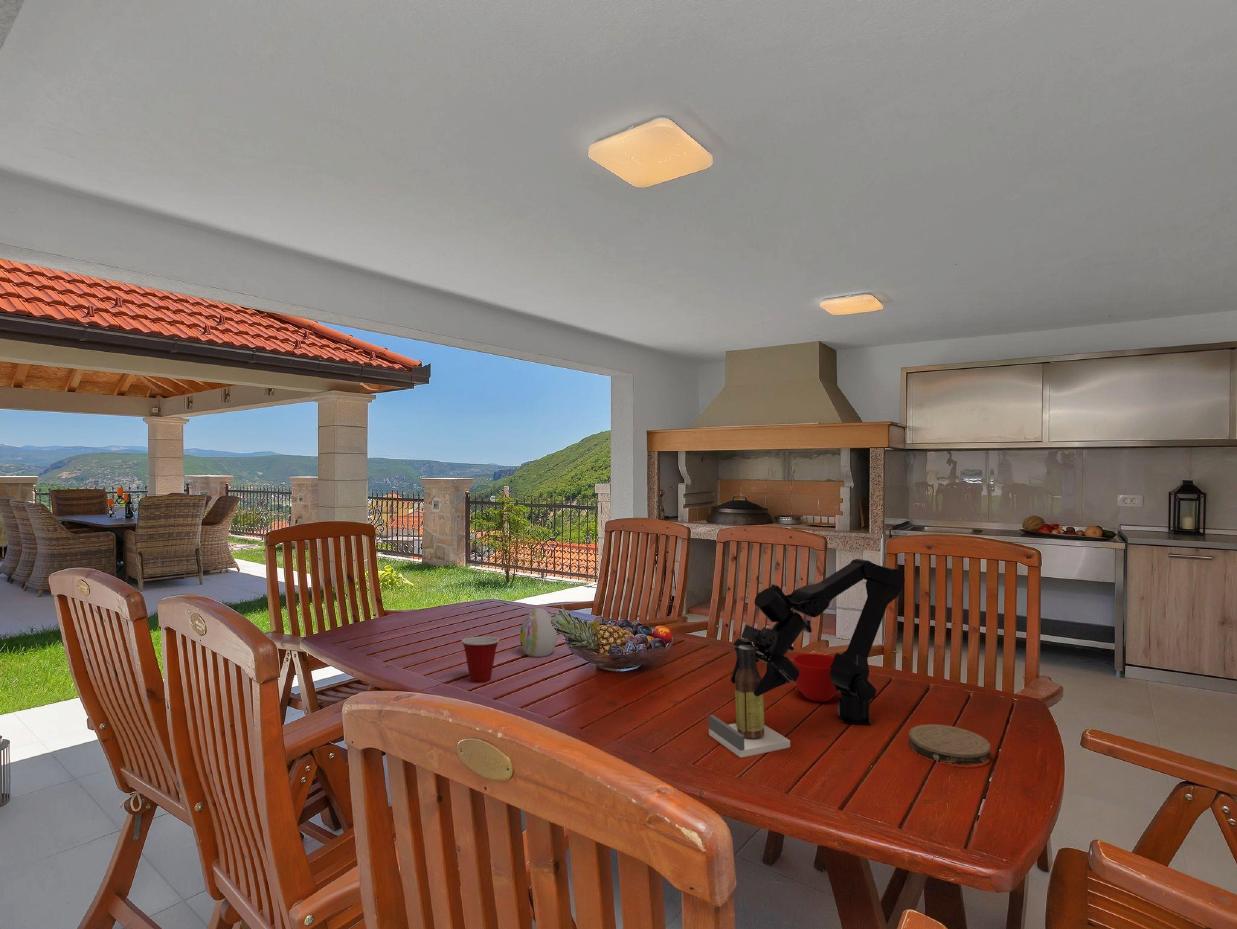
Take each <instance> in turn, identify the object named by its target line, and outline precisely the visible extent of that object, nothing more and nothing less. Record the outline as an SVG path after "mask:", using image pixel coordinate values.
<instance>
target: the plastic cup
mask: <svg viewBox="0 0 1237 929" xmlns="http://www.w3.org/2000/svg"><path fill="white" fill-rule="evenodd" d="M499 641H500V638H498V637H495V636H494V637H493V636H472V637H466V638H463V639H461V643H462V645H463V648H464V652H465V658H466V664H467V669H468V675H469V679H470V682H472V683H475V684H476V683H477V684H479V683H487V682H489V681H491V679H492V672H493V668H494V663H495V658H496V657H495V656H496V651H497V646H498V643H499Z"/></svg>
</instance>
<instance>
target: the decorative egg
mask: <svg viewBox="0 0 1237 929" xmlns="http://www.w3.org/2000/svg"><path fill="white" fill-rule="evenodd" d="M552 619H553V616H552V615H550V613H549V612H548V611H547V610H545V609H543V608H541V607H538V608H534V609H532V610H530V612H529V613H528V614H527V615H526V616H525V618H524V619H523V622H522V623H521V627H520V630H519V631H520V632H519V642H520V646H521V649H522V651H523V652H524V654H525V655H526V656H528V657H533V658H542V657H546V656H547V657H548V656H550V655H551V654H552V652H553V651H554V649H555V647H556V645H557V642H558V632H557V631H556V630H557V629H556V630H555V629H554V627H553V626H552V625H551V620H552Z"/></svg>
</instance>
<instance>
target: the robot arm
mask: <svg viewBox="0 0 1237 929" xmlns="http://www.w3.org/2000/svg"><path fill="white" fill-rule="evenodd" d="M863 580H865V590H866V595H867V596H866V600H865V601H864V602H865V603H864V605H863V606H862V607H863V608H862V610H861V613H860V615H859V618H858V620H857V623H856V625H855V629H854V631H853V634H852V636H851V640H850V642H849V643H848V647H847V649H846V650H845V651H844V652H843V653H838V652H837V653H835V654H834V656H833V657H834V660H833V663H832V665H831V666H830V668H831V671H830V677H831V680H832V682H833V683H834V687H835V690H837V692H840V696H839V697H838V698H837V714H838V716H839V718H840V719H841V721H842V723H843V722H844V724H853V723H854V724H855V725H858V724H859V725H868V726H869V725H871V724H872V722H871V719H870V701H871V700H872V699H875V696H876V694H877V689H876V688H875V686H874V684H873V685H872V683H871V682H870V681H869V675H870V667H869V661H868V658H869V655H870V652H871V650H872V647H873V644H874V642H875V639H876V636H877V635H878V631H879V628H880V626H881V624H882V620H883V618H884V616H885V612H886V610H887V608H888V605H889V604H890V603H892V602H893V601H894V600H895V599H896V598H898V596H899V595H900V593H901V591H902V589H903V587H904V585H905V577H904V574H903V572H902V571H901V570H900V569H898V568H895V567H889V566H883V565H878V564H875V563H874V562H872V561H870V560H867V559H862V558H861V559H860V558H855V559H852V560H851V561H850V563H848V564H846V565H844V567H842V568H841V569H838V570H837V571H835V572H834V573H832V574H831V575H829V576H828V577H826V578H824V579H823V580H821V581H819V582H817V583H814V584H813V583H812V584H808V585H803V586H801V587H799V588H796V589H794V590H793V591H792V592H791V593H789V594H785V593H784V592H783V590H782V589H781V587H780V586H779V585H776V584H771V585H770V586H769V587H767V588H764V589H763V590H761V591H760V592H758V593H757V594H756V596H755V598H754V605H755V607H757V609H758V610H759V611H760V612H762V614H763V615H764V616H765V617H766V618H767V620H768V621H769V622H771V623H774V625H773V626H772V628H768V627H762V628H761V629H758V628H756V627H753V626H751V625H748V624H745V626H744V629H743V631H742V633H741V636H740V637H739V638H737V639H736V640H735V641H734V643H733V644H732V646H733V647H734V651H735V653H736V654H735V655H736V661H735V665H734V668H733V671H732V674H731V677H730V682H731V683H732V684H733V685H734V684H735V675H736V672H737V670H738V669H739V667H740V665H739V663H740V658H739V652H738V647H739V646H740V645H753V646H755V647H756V650H757V653H756V664H757V663H759V662H763V663H764V664H766V672H765V674H764V675H763V677H761V679H762V680H761V681H760V683H759V684H758V686H757V688H756V690H755V691H754V695H755V696H757V697H758V696H760V695H762V694H763V695H764V694H765V693H767V692H770V691H772V690H773V689H776V688H778V687H781V686H784V685H785V684H788V685H790V683H791V682H792V683H793V684H794V683H796V680H797V679H798V678H799V669H798V668H797V667H796V666H795V665H794V664H793V661H791V660H790V658H788V657H787V656H785V655H786V653H788V651H789V652H793V651H794V649H795V648H794V646H793V644H794V642H795V641H796V640H797V639H798V637H799V635H800V634H801V633H802V632H803V631H804V632H806V633H809V634H810V633H812V631H813V630H812V625H811V620H808V619H806V618H803V616H804V615H805V616H807V617H810V618H817V617H819V616H820V615H822V613H824V612H825V611H826V610H827V609H828V608H829V606H830V604H831V601H832V600H833V599H834V598H836V597H837V596H839V595H841V594H842V593H844V592H846V591H847V590H848V589H851V588H852V587H854V586H855V585H856V584H858V583H860V582H861V581H863ZM802 615H803V616H802ZM854 724H853V725H854Z"/></svg>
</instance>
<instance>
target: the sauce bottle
mask: <svg viewBox="0 0 1237 929" xmlns="http://www.w3.org/2000/svg"><path fill="white" fill-rule="evenodd" d="M756 648H757V647H755V646H753V645H740V646H739V647H738V652H739V658H740V663H739V665H740V667H739V669H738V670H737V672H736V675H735V683H734V684H735V687H734V694H735V695H734V696H735V721H736V722H735V723H736V727H737V731H738V732H739V733H741V734H742V735H744V737H745V738H749V739H756V738H760V737H762V736H763V735H764V725H765V709H764V708H765V707H764V706H765V705H764V694H762V695H760V696H758V697H757V696H755V695H754V691H755V690H756V688H757V686H758V684H759V683H760V681H761V680H762V677H761V675H760V672H759V670H758V667H757V663H756V653H757V650H756Z"/></svg>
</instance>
